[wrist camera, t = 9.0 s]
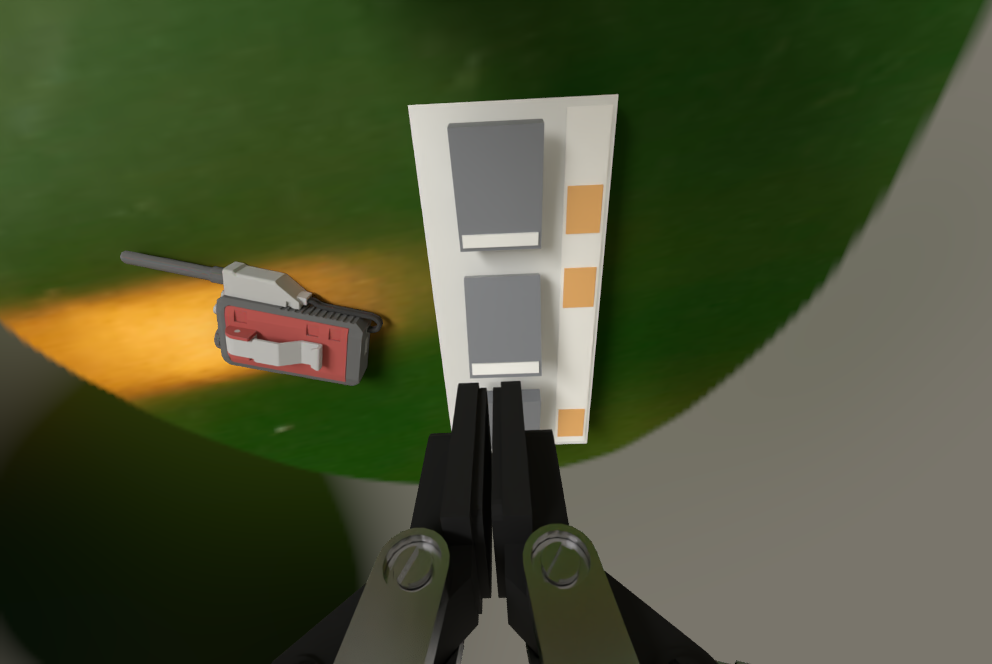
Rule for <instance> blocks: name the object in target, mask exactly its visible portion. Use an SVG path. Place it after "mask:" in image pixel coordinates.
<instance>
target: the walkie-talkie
mask: <svg viewBox="0 0 992 664" xmlns="http://www.w3.org/2000/svg"><path fill="white" fill-rule="evenodd" d="M120 258H121V260H122V261H123V262H124V263H127V264H132V265H137V266H142V267H147V268H151V269H156V270H161V271H166V272H171V273H176V274H181V275H186V276H191V277H196V278H201V279H206V280H210V281H211V282H213V283H219V284H224V290H223V291H222V293H221V297H220V298H219V299H217V304H216V305H215V306H214V309H213V311H214V313H215V314H217V322H218V329H217V331H216V334H215V338H214V342H215V345H216V347H218V348H220V349H221V353H222V357H223V359H224V360H225V361H226V362H228V363H229V364H231V365H237V366H242V367H248V368H253V369H259V370H265V371H270V372H276V373H281V374H283V373H284V374H287V375H289V374H290V375H294V376H300V377H306V378H312V379H318V380H320V381H321V380H323V381H326V382H328V381H329V382H332V383H338V384H344V385H350V386H353V385H356V384H358V383H359V382H360V380H361V378H362V376H363V374H364V372H365V370H366V368H367V363H368V352H369V340H370V333H375V332H378V331H379V330H380V328H381V327H382V324H383V321H382V319H381V317H380V316H378V315H376V314H374V313H371V312H366V311H361V310H358V309H357V310H356V309H352V308H346V307H341V306H338V305H337V306H336V305H333V304H327V303H324V302H321V301H320V300H318V299H317V298H314V297H312V293H310V292H307V291H306V290H305V289H304V288H302V287H301V286H300V285H299V284H298V283H297V282H295V281H294V280H293V279H292V278H291V277H290V276H288V275H287V274H285V273H280V272H275V271H271V270H266V269H261V268H256V267H251V266H248V265H246V264H245V263H240V262H234V263H232V264H230V265H229V266H227V267H225V268H222V267H217V266H214V267H208V266H203V265H198V264H193V263H188V262H183V261H179V260H174V259H169V258H164V257H156V256H151V255H146V254H141V253H136V252H131V251H123V252H122V253H121V255H120ZM371 320H373V321H375V322H376V323H377V326H371Z"/></svg>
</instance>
